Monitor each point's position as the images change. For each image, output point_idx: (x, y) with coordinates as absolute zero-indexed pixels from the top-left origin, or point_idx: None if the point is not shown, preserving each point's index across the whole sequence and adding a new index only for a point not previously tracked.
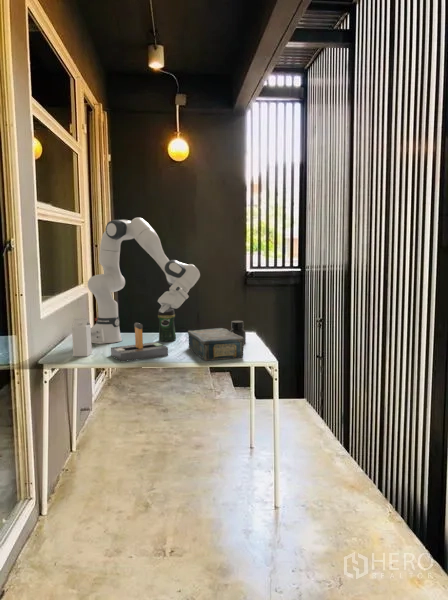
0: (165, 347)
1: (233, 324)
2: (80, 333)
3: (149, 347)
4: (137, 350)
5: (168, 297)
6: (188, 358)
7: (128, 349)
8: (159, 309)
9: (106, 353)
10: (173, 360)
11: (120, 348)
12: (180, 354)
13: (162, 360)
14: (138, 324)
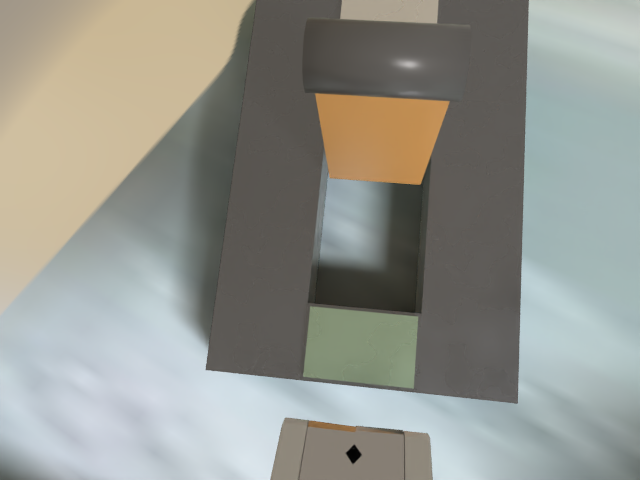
0: (219, 351)
1: None
2: None
3: (421, 290)
4: (278, 106)
5: None
6: (22, 443)
7: None
8: (425, 452)
9: (605, 17)
10: (55, 314)
11: (414, 14)
12: (182, 471)
13: (112, 249)
14: (325, 21)
